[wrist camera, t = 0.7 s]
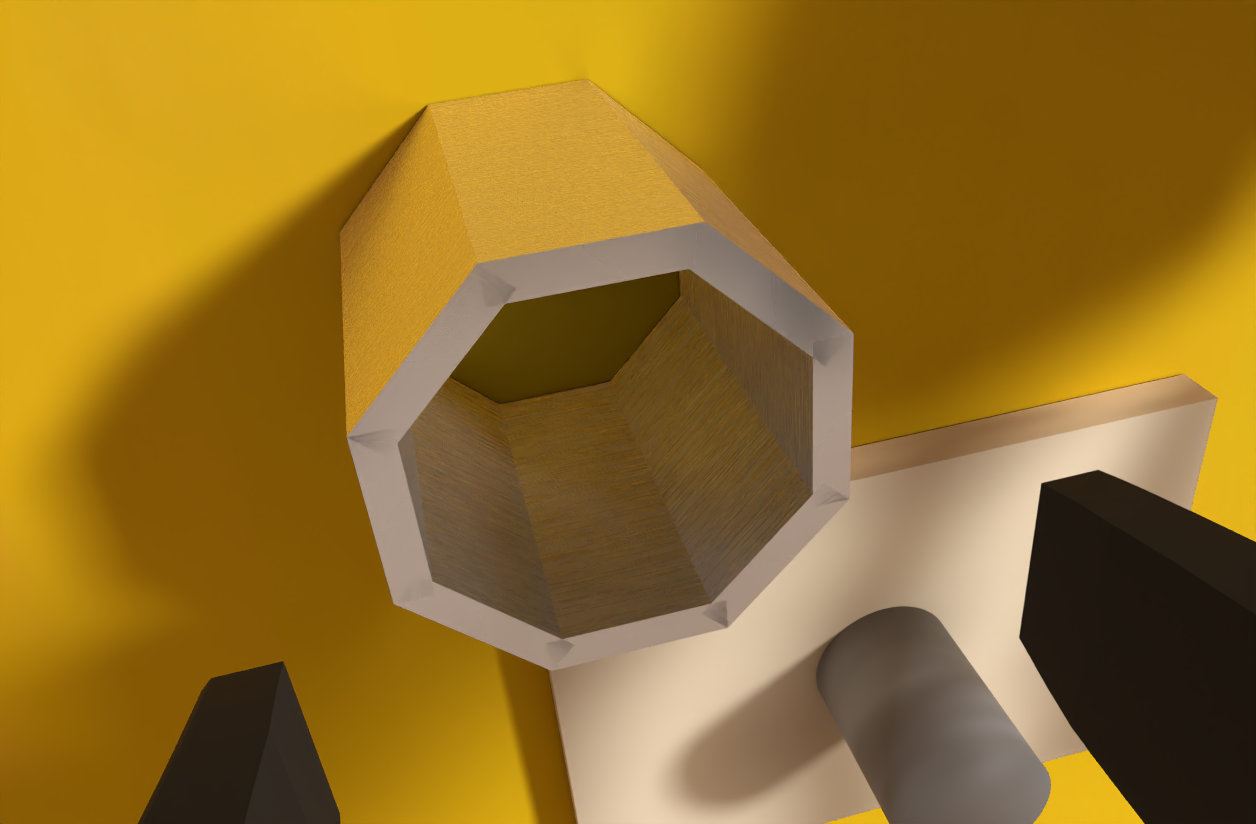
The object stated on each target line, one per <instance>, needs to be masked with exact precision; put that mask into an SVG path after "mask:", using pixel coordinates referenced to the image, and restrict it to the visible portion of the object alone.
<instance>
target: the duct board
mask: <svg viewBox="0 0 1256 824" xmlns="http://www.w3.org/2000/svg"><path fill="white" fill-rule="evenodd" d="M1217 399H1218V398H1217V397H1216V396H1214V395H1213V394H1211V393H1210V392H1209V391H1207V390H1206V389H1204V388H1203V387H1202V386H1200V385H1199V384H1197V383H1196V382H1195V381H1193V380H1192V379H1190V378H1189V377H1188V376H1186V375H1185V374H1183V375H1178V376H1174V377H1169V378H1165V379H1160V380H1156V381H1151V382H1147V383H1142V384H1138V385H1133V386H1129V387H1124V388H1120V389H1115V390H1111V391H1106V392H1102V393H1097V394H1093V395H1088V396H1084V397H1079V398H1075V399H1070V400H1066V401H1061V402H1057V403H1052V404H1048V405H1043V406H1039V407H1034V408H1030V409H1025V410H1021V411H1016V412H1011V413H1007V414H1002V415H998V416H993V417H989V418H984V419H980V420H975V421H971V422H966V423H962V424H957V425H953V426H948V427H944V428H939V429H935V430H930V431H926V432H921V433H917V434H912V435H908V436H903V437H899V438H894V439H890V440H885V441H881V442H876V443H872V444H867V445H863V446H858V447H854V448H851V468H850V500H849V501H848V502H847V503H846V504H845V505H844V506H843V507H842V508H841V509H840V510H839V511H838V512H837V513H836V514H835V515H834V516H833V517H832V519H831V520H830V521H829V522H828V523H827V524H826V525H825V526H824V527H823V528H822V529H821V530H820V531H819V532H818V533H817V534H816V535H815V536H814V538H813V539H812V540H811V541H810V542H809V543H808V544H807V545H806V546H805V547H804V548H803V549H802V550H801V551H800V552H799V553H798V554H797V555H796V557H795V558H794V559H793V560H792V561H791V562H790V563H789V564H788V565H787V566H786V567H785V568H784V569H783V570H782V571H781V572H780V573H779V574H778V576H777V577H776V578H775V579H774V580H773V581H772V582H771V583H770V584H769V585H768V586H767V587H766V588H765V589H764V590H763V591H762V592H761V593H760V595H759V596H758V597H757V598H756V599H755V600H754V601H753V602H752V603H751V604H750V605H749V606H748V607H747V608H746V609H745V610H744V611H743V613H742V614H741V615H740V616H739V617H738V618H737V619H736V620H735V621H734V622H733V623H732V624H731V625H730V626H729V627H728V628H725V629H721V630H717V631H713V632H709V633H705V634H701V635H697V636H693V637H688V638H684V639H680V640H676V641H672V642H668V643H664V644H660V645H656V646H652V647H648V648H643V649H639V650H635V651H631V652H627V653H623V654H619V655H615V656H611V657H607V658H603V659H598V660H594V661H590V662H586V663H582V664H578V665H574V666H570V667H566V668H562V669H558V670H553V671H551V670H548V673H549V679H550V684H551V689H552V695H553V700H554V706H555V711H556V716H557V722H558V727H559V732H560V738H561V743H562V749H563V754H564V759H565V765H566V770H567V776H568V781H569V786H570V792H571V797H572V802H573V808H574V813H575V819H576V824H823V823H826V822H830V821H834V820H837V819H841V818H845V817H848V816H852V815H855V814H859V813H863V812H866V811H870V810H873V809H877V808H881V809H882V811H883V812H884V814H885V816H886V818H887V820H888V822H889V824H1033V823H1034V822H1035V820H1036V819H1037V818H1038V816H1039V815H1040V814H1041V812H1042V810H1043V809H1044V807H1045V805H1046V803H1047V801H1048V798H1049V794H1050V789H1051V781H1050V776H1049V773H1048V772H1047V770H1046V768H1045V767H1044V765H1043V764H1042V763H1043V762H1046V761H1050V760H1054V759H1057V758H1061V757H1064V756H1068V755H1072V754H1075V753H1079V752H1082V751H1086V750H1088V749H1087V748H1086V746H1085V745H1084V744H1083V742H1082V741H1081V740H1080V738H1079V737H1078V736H1077V734H1076V733H1075V732H1074V730H1073V729H1072V728H1071V726H1070V724H1069V723H1068V721H1067V719H1066V718H1065V716H1064V714H1063V713H1062V711H1061V710H1060V708H1059V706H1058V705H1057V703H1056V701H1055V700H1054V698H1053V696H1052V695H1051V693H1050V692H1049V690H1048V688H1047V687H1046V685H1045V683H1044V681H1043V679H1042V678H1041V676H1040V674H1039V672H1038V671H1037V669H1036V667H1035V665H1034V663H1033V662H1032V660H1031V658H1030V656H1029V655H1028V653H1027V651H1026V649H1025V648H1024V646H1023V644H1022V642H1021V640H1020V639H1019V634H1020V627H1021V620H1022V613H1023V606H1024V599H1025V592H1026V586H1027V579H1028V572H1029V565H1030V558H1031V551H1032V544H1033V537H1034V530H1035V523H1036V516H1037V509H1038V502H1039V495H1040V488H1041V483H1044V482H1048V481H1052V480H1057V479H1061V478H1065V477H1069V476H1074V475H1078V474H1082V473H1086V472H1091V471H1095V470H1100V471H1103V472H1105V473H1108V474H1110V475H1112V476H1115V477H1117V478H1120V479H1122V480H1124V481H1127V482H1129V483H1131V484H1133V485H1136V486H1138V487H1140V488H1142V489H1145V490H1147V491H1149V492H1151V493H1153V494H1156V495H1158V496H1160V497H1162V498H1164V499H1166V500H1168V501H1171V502H1173V503H1175V504H1177V505H1179V506H1181V507H1183V508H1185V509H1188V510H1190V511H1191V506H1192V502H1193V498H1194V494H1195V490H1196V486H1197V482H1198V478H1199V473H1200V469H1201V465H1202V461H1203V457H1204V453H1205V449H1206V445H1207V440H1208V436H1209V432H1210V428H1211V424H1212V420H1213V416H1214V412H1215V407H1216V403H1217Z"/></svg>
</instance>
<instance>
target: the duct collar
mask: <svg viewBox="0 0 1256 824" xmlns="http://www.w3.org/2000/svg"><path fill="white" fill-rule="evenodd" d="M340 251H341V281H342V311H343V341H344V372H345V402H346V432H347V440H348V444H349V447H350V451H351V455H352V458H353V462H354V465H355V469H356V472H357V476H358V479H359V483H360V486H361V490H362V494H363V497H364V501H365V504H366V508H367V511H368V515H369V518H370V522H371V525H372V529H373V533H374V536H375V540H376V543H377V547H378V550H379V554H380V557H381V561H382V564H383V568H384V572H385V575H386V579H387V582H388V586H389V589H390V593H391V596H392V600H393V603H394V604H395V605H397V606H400V607H402V608H404V609H407V610H409V611H411V612H414V613H416V614H418V615H421V616H423V617H426V618H428V619H430V620H433V621H435V622H437V623H440V624H442V625H444V626H447V627H449V628H452V629H454V630H456V631H459V632H461V633H463V634H466V635H468V636H470V637H473V638H475V639H478V640H480V641H482V642H485V643H487V644H489V645H492V646H494V647H496V648H499V649H501V650H504V651H506V652H508V653H511V654H513V655H515V656H518V657H520V658H522V659H525V660H527V661H529V662H532V663H534V664H537V665H539V666H541V667H544V668H546V669H548V670H551V671H553V670H558V669H562V668H566V667H570V666H574V665H578V664H582V663H586V662H590V661H594V660H598V659H603V658H607V657H611V656H615V655H619V654H623V653H627V652H631V651H635V650H639V649H643V648H648V647H652V646H656V645H660V644H664V643H668V642H672V641H676V640H680V639H684V638H688V637H693V636H697V635H701V634H705V633H709V632H713V631H717V630H721V629H725V628H728V627H729V626H730V625H731V624H732V623H733V622H734V621H735V620H736V619H737V618H738V617H739V616H740V615H741V614H742V613H743V611H744V610H745V609H746V608H747V607H748V606H749V605H750V604H751V603H752V602H753V601H754V600H755V599H756V598H757V597H758V596H759V595H760V593H761V592H762V591H763V590H764V589H765V588H766V587H767V586H768V585H769V584H770V583H771V582H772V581H773V580H774V579H775V578H776V577H777V576H778V574H779V573H780V572H781V571H782V570H783V569H784V568H785V567H786V566H787V565H788V564H789V563H790V562H791V561H792V560H793V559H794V558H795V557H796V555H797V554H798V553H799V552H800V551H801V550H802V549H803V548H804V547H805V546H806V545H807V544H808V543H809V542H810V541H811V540H812V539H813V538H814V536H815V535H816V534H817V533H818V532H819V531H820V530H821V529H822V528H823V527H824V526H825V525H826V524H827V523H828V522H829V521H830V520H831V519H832V517H833V516H834V515H835V514H836V513H837V512H838V511H839V510H840V509H841V508H842V507H843V506H844V505H845V504H846V503H847V502H848V501H849V500H850V468H851V428H852V388H853V348H854V333H853V332H852V331H851V330H850V329H849V328H848V327H847V326H846V324H845V323H844V322H843V321H842V320H841V319H840V318H839V317H838V316H837V315H836V314H835V313H834V311H833V310H832V309H831V308H830V307H829V306H828V305H827V304H826V303H825V302H824V301H823V300H822V298H821V297H820V296H819V295H818V294H817V293H816V292H815V291H814V290H813V289H812V288H811V287H810V285H809V284H808V283H807V282H806V281H805V280H804V279H803V278H802V277H801V276H800V275H799V274H798V272H797V271H796V270H795V269H794V268H793V267H792V266H791V265H790V264H789V263H788V262H787V261H786V260H785V258H784V257H783V256H782V255H781V254H780V253H779V252H778V251H777V250H776V249H775V248H774V247H773V245H772V244H771V243H770V242H769V241H768V240H767V239H766V238H765V237H764V236H763V235H762V234H761V232H760V231H759V230H758V229H757V228H756V227H755V226H754V225H753V224H752V223H751V222H750V221H749V219H748V218H747V217H746V216H745V215H744V214H743V213H742V212H741V211H740V210H739V209H738V208H737V206H736V205H735V204H734V203H733V202H732V201H731V200H730V199H729V198H728V197H727V196H726V195H725V193H724V192H723V191H722V190H721V189H720V188H719V187H718V186H717V185H716V184H715V183H714V182H713V180H712V179H711V178H710V177H709V176H708V175H707V174H706V173H705V172H704V171H703V170H702V169H701V168H700V167H699V166H698V165H696V164H695V163H694V162H693V161H691V160H690V159H689V158H687V157H686V156H685V155H684V154H682V153H681V152H680V151H678V150H677V149H676V148H675V147H673V146H672V145H671V144H670V143H668V142H667V141H666V140H664V139H663V138H662V137H661V136H659V135H658V134H657V133H655V132H654V131H653V130H652V129H650V128H649V127H648V126H647V125H645V124H644V123H643V122H641V121H640V120H639V119H638V118H636V117H635V116H634V115H633V114H631V113H630V112H629V111H627V110H626V109H625V108H624V107H622V106H621V105H620V104H618V103H617V102H616V101H615V100H613V99H612V98H611V97H610V96H608V95H607V94H606V93H604V92H603V91H602V90H601V89H599V88H598V87H597V86H596V85H594V84H593V83H592V82H590V81H589V80H588V79H585V80H579V81H573V82H567V83H560V84H554V85H548V86H542V87H535V88H529V89H523V90H517V91H510V92H504V93H498V94H492V95H485V96H479V97H473V98H467V99H460V100H454V101H448V102H441V103H435V104H429V105H428V106H427V108H426V109H425V111H424V112H423V114H422V115H421V116H420V118H419V119H418V121H417V122H416V124H415V125H414V126H413V128H412V129H411V131H410V132H409V134H408V135H407V136H406V138H405V139H404V141H403V142H402V144H401V145H400V147H399V148H398V149H397V151H396V152H395V154H394V155H393V157H392V158H391V159H390V161H389V162H388V164H387V165H386V167H385V168H384V169H383V171H382V172H381V174H380V175H379V177H378V178H377V179H376V181H375V182H374V184H373V185H372V187H371V188H370V189H369V191H368V192H367V194H366V195H365V197H364V198H363V200H362V201H361V202H360V204H359V205H358V207H357V208H356V210H355V211H354V212H353V214H352V215H351V217H350V218H349V220H348V221H347V222H346V224H345V225H344V227H343V228H342V230H341V231H340ZM675 271H679V281H680V295H681V296H680V297H679V298H678V300H677V301H676V302H675V303H674V305H673V306H672V307H671V308H670V309H669V311H668V312H667V313H666V314H665V315H664V317H663V318H662V319H661V320H660V321H659V323H658V324H657V325H656V326H655V327H654V329H653V330H652V331H651V332H650V334H649V335H648V336H647V337H646V338H645V340H644V341H643V342H642V343H641V344H640V346H639V347H638V348H637V349H636V350H635V352H634V353H633V354H632V355H631V357H630V358H629V359H628V360H627V361H626V363H625V364H624V365H623V366H622V367H621V369H620V370H619V371H618V372H617V373H616V375H615V376H614V377H613V378H612V380H611V381H610V382H607V383H602V384H597V385H592V386H587V387H582V388H577V389H572V390H567V391H563V392H558V393H553V394H548V395H543V396H538V397H533V398H528V399H523V400H519V401H514V402H509V403H504V404H497V403H495V402H494V401H492V400H490V399H488V398H486V397H485V396H483V395H481V394H479V393H477V392H476V391H474V390H472V389H470V388H469V387H467V386H465V385H463V384H461V383H460V382H458V381H456V380H454V379H453V378H451V377H449V376H450V375H451V373H452V372H453V371H454V369H455V368H456V367H457V365H458V364H459V363H460V362H461V360H462V359H463V358H464V356H465V355H466V354H467V352H468V351H469V350H470V349H471V347H472V346H473V345H474V343H475V342H476V341H477V340H478V338H479V337H480V336H481V334H482V333H483V332H484V330H485V329H486V328H487V327H488V325H489V324H490V323H491V321H492V320H493V319H494V317H495V316H496V315H497V314H498V312H499V311H500V310H501V308H502V307H503V306H504V304H507V303H512V302H518V301H523V300H528V299H533V298H539V297H544V296H549V295H554V294H560V293H565V292H570V291H575V290H581V289H586V288H591V287H596V286H602V285H607V284H612V283H618V282H623V281H628V280H633V279H639V278H644V277H649V276H654V275H660V274H665V273H670V272H675Z"/></svg>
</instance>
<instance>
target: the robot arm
mask: <svg viewBox="0 0 1256 824" xmlns="http://www.w3.org/2000/svg"><path fill="white" fill-rule="evenodd" d="M1019 639H1020V640H1021V642H1022V644H1023V646H1024V648H1025V649H1026V651H1027V653H1028V655H1029V656H1030V658H1031V660H1032V662H1033V663H1034V665H1035V667H1036V669H1037V671H1038V672H1039V674H1040V676H1041V678H1042V679H1043V681H1044V683H1045V685H1046V687H1047V688H1048V690H1049V692H1050V693H1051V695H1052V696H1053V698H1054V700H1055V701H1056V703H1057V705H1058V706H1059V708H1060V710H1061V711H1062V713H1063V714H1064V716H1065V718H1066V719H1067V721H1068V723H1069V724H1070V726H1071V728H1072V729H1073V730H1074V732H1075V733H1076V734H1077V736H1078V737H1079V738H1080V740H1081V741H1082V742H1083V744H1084V745H1085V746H1086V748H1087V749H1088V750H1089V752H1090V753H1091V754H1092V756H1093V757H1094V758H1095V760H1096V761H1097V762H1098V764H1099V765H1100V766H1101V768H1102V769H1103V770H1104V771H1105V773H1106V774H1107V775H1108V777H1109V778H1110V779H1111V781H1112V782H1113V783H1114V785H1115V786H1116V787H1117V788H1118V790H1119V791H1120V792H1121V794H1122V795H1123V796H1124V798H1125V799H1126V800H1127V801H1128V803H1129V804H1130V805H1131V807H1132V808H1133V809H1134V810H1135V812H1136V813H1137V814H1138V816H1139V817H1140V818H1141V819H1142V821H1143V822H1144V823H1145V824H1256V542H1255V541H1253V540H1250V539H1248V538H1246V537H1244V536H1242V535H1240V534H1238V533H1236V532H1234V531H1232V530H1229V529H1227V528H1225V527H1223V526H1221V525H1219V524H1217V523H1215V522H1213V521H1211V520H1209V519H1206V518H1204V517H1202V516H1200V515H1198V514H1196V513H1194V512H1192V511H1190V510H1188V509H1185V508H1183V507H1181V506H1179V505H1177V504H1175V503H1173V502H1171V501H1168V500H1166V499H1164V498H1162V497H1160V496H1158V495H1156V494H1153V493H1151V492H1149V491H1147V490H1145V489H1142V488H1140V487H1138V486H1136V485H1133V484H1131V483H1129V482H1127V481H1124V480H1122V479H1120V478H1117V477H1115V476H1112V475H1110V474H1108V473H1105V472H1103V471H1100V470H1095V471H1091V472H1086V473H1082V474H1078V475H1074V476H1069V477H1065V478H1061V479H1057V480H1052V481H1048V482H1044V483H1041V488H1040V495H1039V502H1038V509H1037V516H1036V523H1035V530H1034V537H1033V544H1032V551H1031V558H1030V565H1029V572H1028V579H1027V586H1026V592H1025V599H1024V606H1023V613H1022V620H1021V627H1020V634H1019ZM138 824H340V813H339V810H338V808H337V805H336V802H335V800H334V797H333V794H332V791H331V789H330V786H329V783H328V781H327V778H326V775H325V773H324V770H323V767H322V765H321V762H320V759H319V756H318V754H317V751H316V748H315V746H314V743H313V740H312V738H311V735H310V732H309V729H308V727H307V724H306V721H305V719H304V716H303V713H302V711H301V708H300V705H299V702H298V700H297V697H296V694H295V692H294V689H293V686H292V684H291V681H290V678H289V675H288V673H287V670H286V667H285V665H284V662H279V663H274V664H270V665H266V666H262V667H257V668H253V669H249V670H245V671H240V672H236V673H232V674H228V675H223V676H219V677H215V678H211V679H210V681H209V682H208V683H207V685H206V686H205V687H204V689H203V690H202V691H201V693H200V696H199V698H198V700H197V702H196V704H195V706H194V709H193V711H192V713H191V715H190V717H189V720H188V722H187V724H186V726H185V728H184V730H183V732H182V734H181V737H180V739H179V741H178V743H177V745H176V747H175V749H174V751H173V754H172V756H171V758H170V760H169V762H168V764H167V766H166V768H165V770H164V772H163V774H162V776H161V778H160V781H159V783H158V785H157V787H156V789H155V791H154V793H153V795H152V797H151V799H150V801H149V803H148V805H147V807H146V809H145V811H144V813H143V815H142V817H141V819H140V821H139V823H138Z"/></svg>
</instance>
